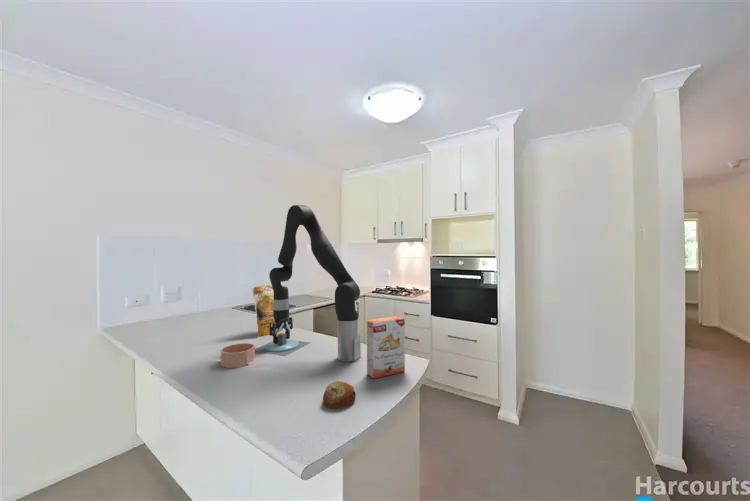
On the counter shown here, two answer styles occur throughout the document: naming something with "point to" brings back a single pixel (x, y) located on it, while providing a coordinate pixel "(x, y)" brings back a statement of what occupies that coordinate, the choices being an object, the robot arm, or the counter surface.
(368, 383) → the counter surface
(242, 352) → the bowl
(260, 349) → the mat
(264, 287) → the pancake mix bag
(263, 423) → the counter surface
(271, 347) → the lid
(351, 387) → the bread roll
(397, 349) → the cracker box
